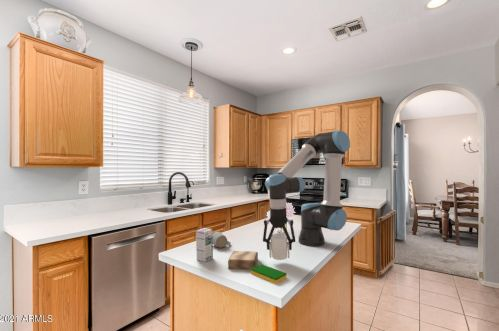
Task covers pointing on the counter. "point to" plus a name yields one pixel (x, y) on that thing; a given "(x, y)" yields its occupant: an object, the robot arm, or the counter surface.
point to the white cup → (279, 246)
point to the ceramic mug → (220, 240)
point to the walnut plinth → (243, 260)
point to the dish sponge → (269, 273)
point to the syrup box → (204, 244)
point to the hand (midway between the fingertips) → (279, 256)
